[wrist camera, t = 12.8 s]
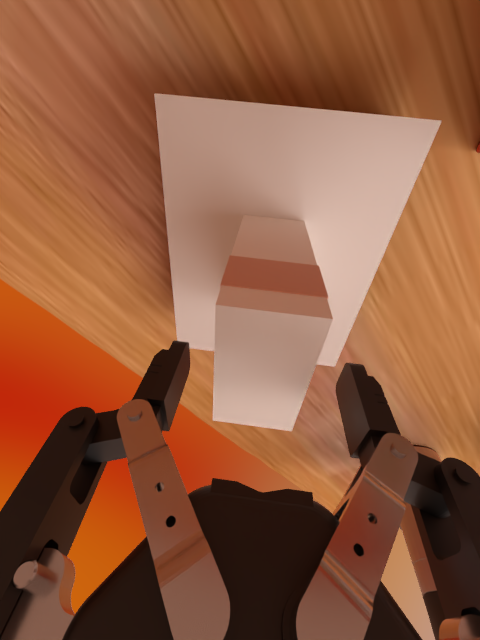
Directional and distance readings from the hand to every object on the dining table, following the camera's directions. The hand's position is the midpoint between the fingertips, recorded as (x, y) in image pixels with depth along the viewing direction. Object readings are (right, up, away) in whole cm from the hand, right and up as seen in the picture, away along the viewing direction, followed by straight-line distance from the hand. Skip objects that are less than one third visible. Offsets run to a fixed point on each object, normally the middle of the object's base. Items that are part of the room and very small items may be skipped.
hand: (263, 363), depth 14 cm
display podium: (+2, +10, +12) cm, 16 cm away
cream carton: (+1, +7, +8) cm, 11 cm away
